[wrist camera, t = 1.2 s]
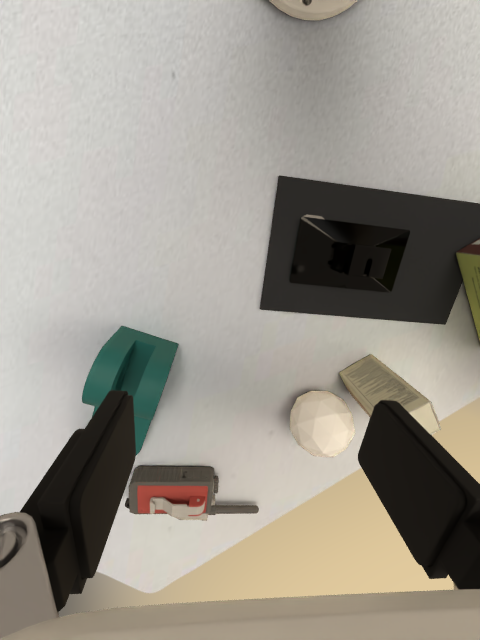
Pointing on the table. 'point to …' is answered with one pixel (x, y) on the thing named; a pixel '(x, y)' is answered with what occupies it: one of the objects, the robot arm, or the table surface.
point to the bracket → (131, 374)
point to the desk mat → (378, 210)
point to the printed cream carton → (387, 391)
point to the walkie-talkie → (178, 493)
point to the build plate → (347, 254)
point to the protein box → (471, 277)
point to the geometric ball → (321, 423)
